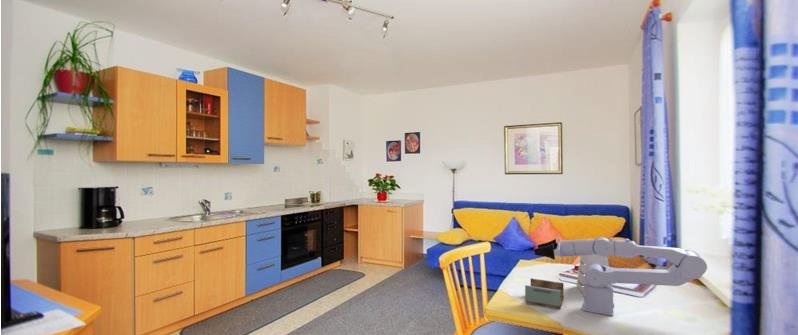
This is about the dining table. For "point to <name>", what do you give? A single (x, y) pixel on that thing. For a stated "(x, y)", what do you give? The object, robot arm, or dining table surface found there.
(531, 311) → the dining table surface
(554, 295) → the panel
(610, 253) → the robot arm
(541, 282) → the cart bed
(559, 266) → the dining table surface
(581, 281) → the grater
